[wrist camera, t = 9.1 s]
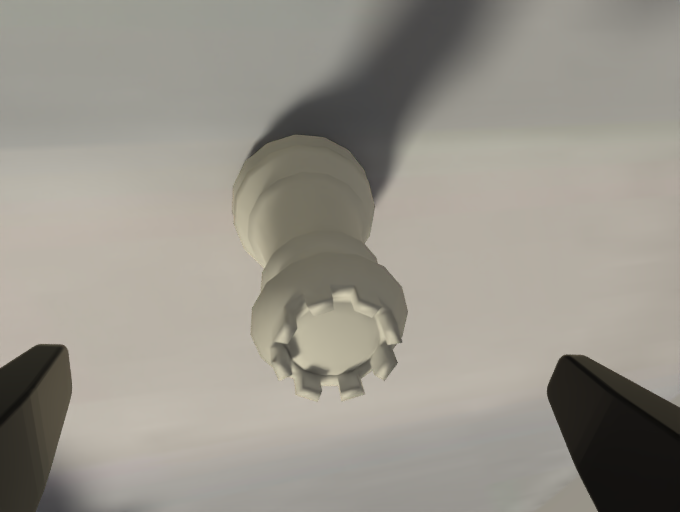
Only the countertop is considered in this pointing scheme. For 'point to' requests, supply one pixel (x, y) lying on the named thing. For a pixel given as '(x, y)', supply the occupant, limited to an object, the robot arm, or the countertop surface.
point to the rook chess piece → (316, 267)
